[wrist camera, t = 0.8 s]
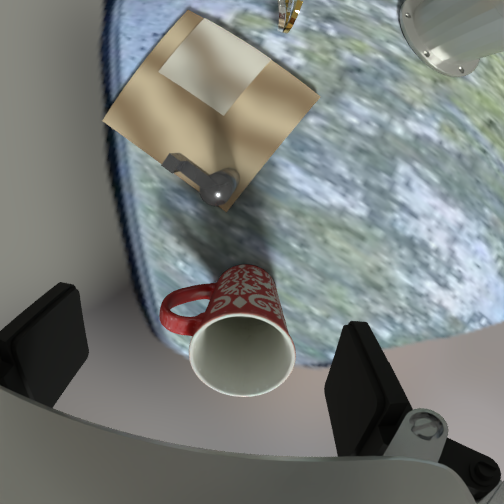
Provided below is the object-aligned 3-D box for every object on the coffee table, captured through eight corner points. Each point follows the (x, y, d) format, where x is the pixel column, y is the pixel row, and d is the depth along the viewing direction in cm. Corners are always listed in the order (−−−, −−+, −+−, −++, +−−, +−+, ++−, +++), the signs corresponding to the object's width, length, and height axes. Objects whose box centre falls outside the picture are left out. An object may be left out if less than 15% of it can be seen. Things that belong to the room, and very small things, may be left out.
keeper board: (190, 14, 27) (187, 8, 26) (317, 99, 30) (321, 96, 29) (108, 121, 31) (101, 120, 30) (227, 209, 35) (226, 212, 33)
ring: (277, -8, 26) (282, -43, 19) (304, -2, 26) (315, -35, 19) (264, 38, 28) (266, 9, 21) (293, 44, 29) (302, 17, 21)
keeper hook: (205, 147, 31) (175, 144, 20) (244, 176, 32) (236, 190, 20) (191, 165, 32) (155, 173, 20) (230, 194, 33) (215, 218, 21)
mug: (297, 272, 37) (315, 335, 24) (266, 332, 39) (268, 408, 27) (196, 232, 35) (162, 278, 23) (173, 297, 38) (138, 363, 25)
